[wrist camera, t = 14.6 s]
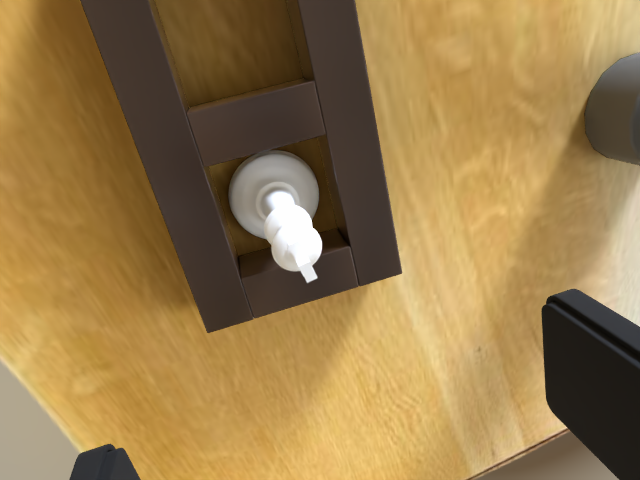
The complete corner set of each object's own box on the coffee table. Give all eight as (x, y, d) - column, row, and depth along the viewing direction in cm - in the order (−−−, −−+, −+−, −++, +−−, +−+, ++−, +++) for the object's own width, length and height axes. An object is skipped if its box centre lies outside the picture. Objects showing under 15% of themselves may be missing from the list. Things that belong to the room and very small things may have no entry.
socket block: (208, 306, 27) (207, 333, 25) (65, -79, 20) (41, -102, 17) (384, 253, 28) (402, 274, 26) (313, -131, 21) (328, -159, 18)
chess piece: (253, 251, 27) (273, 351, 18) (211, 174, 25) (209, 241, 16) (331, 214, 27) (391, 293, 18) (296, 134, 25) (343, 177, 16)
